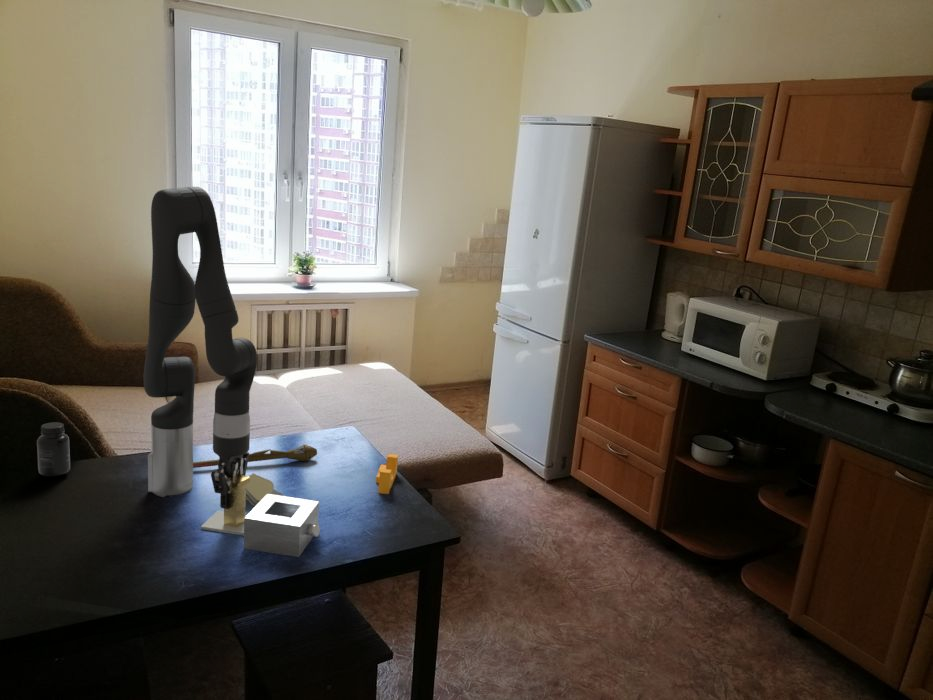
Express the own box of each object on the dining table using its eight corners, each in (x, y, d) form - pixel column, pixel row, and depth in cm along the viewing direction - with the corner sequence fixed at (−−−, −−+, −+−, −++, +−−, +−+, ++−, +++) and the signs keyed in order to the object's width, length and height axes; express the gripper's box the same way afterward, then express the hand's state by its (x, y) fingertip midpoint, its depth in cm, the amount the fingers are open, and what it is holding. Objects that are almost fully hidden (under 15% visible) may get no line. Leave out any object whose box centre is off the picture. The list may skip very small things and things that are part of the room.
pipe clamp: (380, 475, 191) (382, 453, 190) (396, 477, 191) (398, 455, 189) (371, 494, 179) (372, 470, 178) (388, 496, 179) (390, 473, 178)
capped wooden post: (236, 529, 155) (237, 484, 153) (219, 524, 156) (220, 479, 154) (248, 521, 159) (250, 476, 157) (232, 516, 160) (233, 472, 158)
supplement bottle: (76, 471, 176) (74, 425, 174) (48, 479, 171) (45, 432, 168) (60, 463, 180) (58, 418, 177) (32, 471, 174) (30, 425, 171)
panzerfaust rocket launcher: (179, 471, 185) (178, 454, 184) (314, 456, 198) (314, 440, 197) (180, 479, 181) (179, 461, 179) (318, 463, 194) (318, 447, 193)
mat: (200, 528, 155) (200, 526, 155) (217, 512, 163) (218, 510, 163) (244, 535, 154) (244, 533, 154) (259, 518, 162) (259, 516, 162)
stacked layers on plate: (227, 502, 168) (229, 490, 164) (249, 475, 175) (252, 463, 171) (263, 523, 168) (266, 512, 164) (284, 495, 174) (288, 484, 170)
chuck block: (243, 548, 149) (244, 518, 147) (266, 522, 161) (267, 493, 159) (308, 558, 148) (309, 527, 146) (326, 531, 159) (327, 502, 157)
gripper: (233, 444, 146) (231, 521, 150) (261, 422, 160) (259, 493, 163) (198, 439, 147) (197, 515, 151) (230, 418, 160) (228, 488, 164)
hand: (229, 503), depth 157 cm, fingers closed on capped wooden post, 3 cm apart
